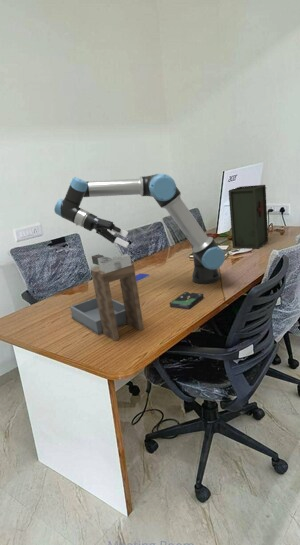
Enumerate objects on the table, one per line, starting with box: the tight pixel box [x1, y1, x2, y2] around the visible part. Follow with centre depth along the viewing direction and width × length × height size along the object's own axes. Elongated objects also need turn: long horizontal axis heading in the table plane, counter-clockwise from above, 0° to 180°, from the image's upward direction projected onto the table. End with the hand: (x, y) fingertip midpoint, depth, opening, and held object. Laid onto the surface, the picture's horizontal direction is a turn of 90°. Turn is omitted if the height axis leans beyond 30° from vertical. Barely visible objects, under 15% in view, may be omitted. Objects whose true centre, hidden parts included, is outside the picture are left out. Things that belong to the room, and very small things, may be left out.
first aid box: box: [228, 184, 269, 250], centre depth 256 cm, size 18×18×40 cm
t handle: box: [91, 253, 132, 273], centre depth 150 cm, size 19×12×4 cm, turn 35°
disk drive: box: [169, 291, 204, 311], centre depth 176 cm, size 10×3×15 cm
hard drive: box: [135, 272, 150, 283], centre depth 223 cm, size 2×8×12 cm
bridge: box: [90, 263, 145, 342], centre depth 151 cm, size 10×14×28 cm
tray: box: [69, 297, 127, 336], centre depth 170 cm, size 27×18×6 cm, turn 35°
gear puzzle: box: [205, 232, 232, 241], centre depth 297 cm, size 31×16×4 cm, turn 48°
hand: (127, 240), depth 169 cm, fingers open, 13 cm apart
